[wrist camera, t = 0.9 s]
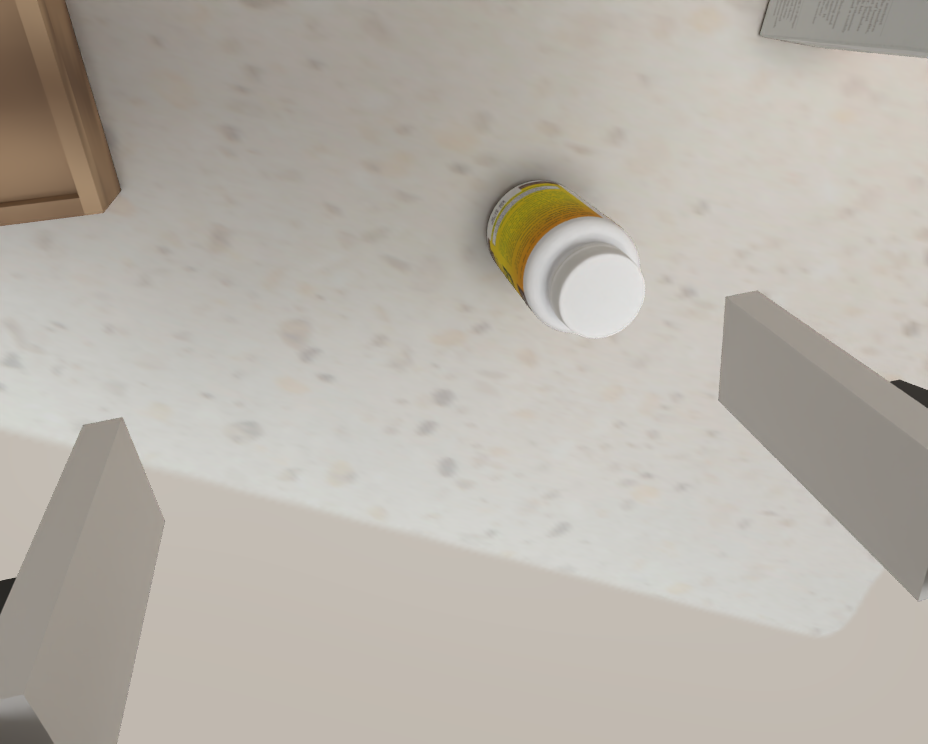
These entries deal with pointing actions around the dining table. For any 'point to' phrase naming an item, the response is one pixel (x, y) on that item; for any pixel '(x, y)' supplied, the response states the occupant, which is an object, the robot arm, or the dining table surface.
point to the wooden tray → (48, 120)
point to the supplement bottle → (566, 260)
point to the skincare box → (851, 25)
